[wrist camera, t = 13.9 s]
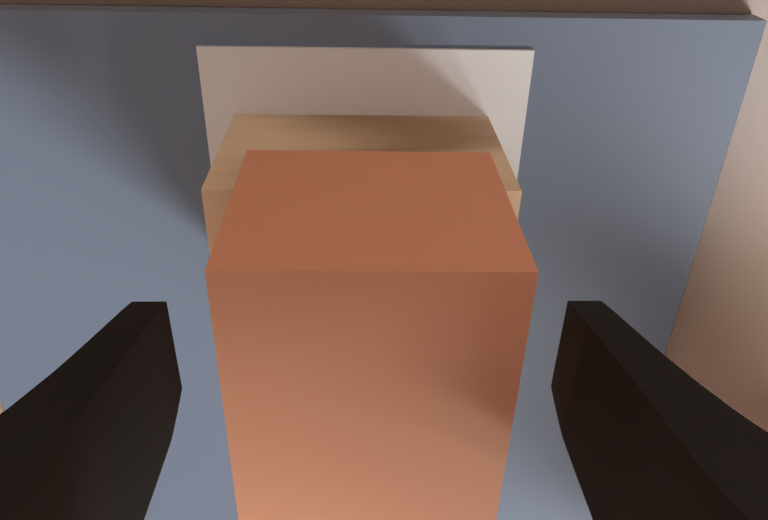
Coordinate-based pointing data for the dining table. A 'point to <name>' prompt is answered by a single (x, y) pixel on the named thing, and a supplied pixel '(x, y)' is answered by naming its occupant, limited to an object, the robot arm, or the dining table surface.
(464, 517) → the terracotta brick
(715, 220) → the dining table surface
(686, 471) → the robot arm
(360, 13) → the slate board
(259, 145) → the oak brick
